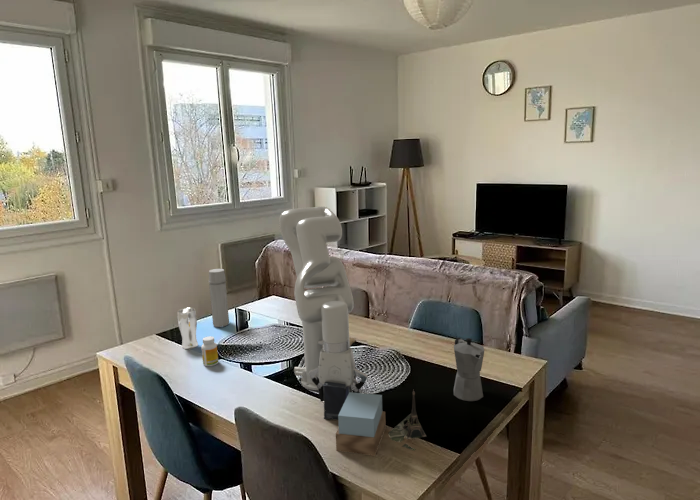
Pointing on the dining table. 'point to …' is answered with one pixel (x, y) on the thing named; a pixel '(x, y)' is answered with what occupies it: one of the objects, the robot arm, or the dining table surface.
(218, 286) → the water bottle
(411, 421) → the eiffel tower figurine
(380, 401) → the slate-blue block
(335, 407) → the small box
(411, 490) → the dining table surface
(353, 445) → the walnut slab
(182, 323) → the beer glass
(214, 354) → the supplement bottle
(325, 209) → the robot arm
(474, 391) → the coffeepot
